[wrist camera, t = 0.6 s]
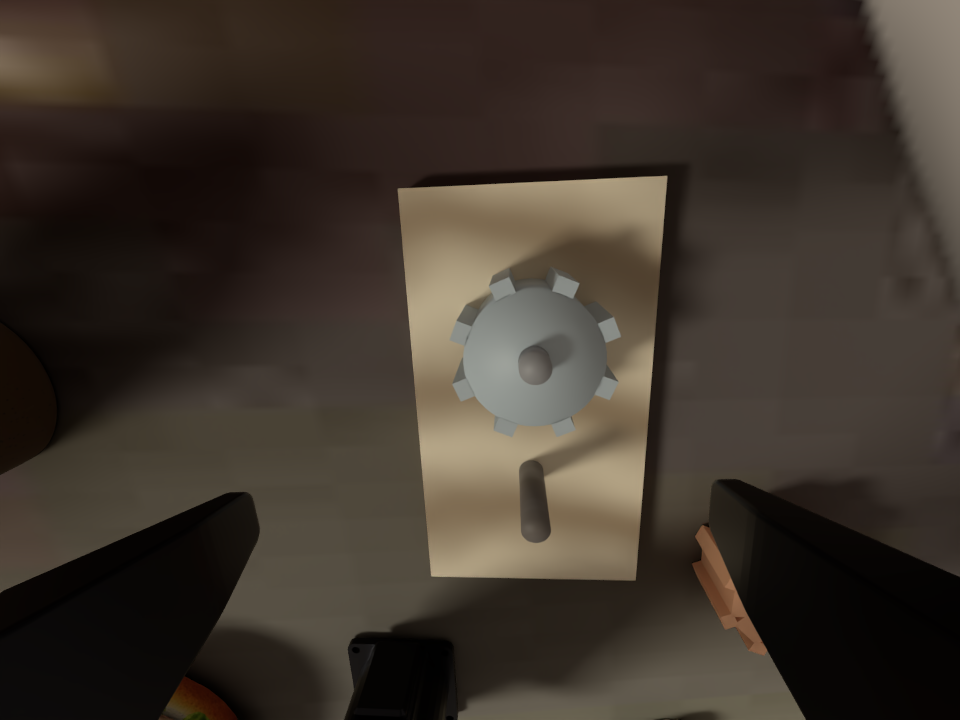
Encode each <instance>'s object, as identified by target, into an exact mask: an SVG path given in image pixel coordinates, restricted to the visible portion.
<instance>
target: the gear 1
mask: <svg viewBox="0 0 960 720" xmlns="http://www.w3.org/2000/svg"><path fill="white" fill-rule="evenodd" d="M579 284H580V283H579V282H578V281H576V280H575V279H574V278H573V277H572V276H571V275H569V274H568V273H566V272H563V271H561V270H558V269H556V268H553V267H550V269H549V271H548V274H547V276H546V279H545V280H543V279H534V278H528V279H520V280H516V281H515V279H514V277H513V275H512V272H511V270H510V268H508V269H506V270H504V271H502V272H499V273H497V274H495V275H493V276H492V279H491V282H490V284H489V288H490V290H491V292H492V293H491V294H490V295H489V296H488V297H487V298H486V299H485V301H484V302H483V303H482V304H481V306H480V308H479V309H476V308H473V307H471V306H468V305H465V307H464V308H463V310H462V312H461V314H460V315H459V317H458V319H457V321H456V323H455V326H454V329H453V332H452V334H451V337H450V341H453V342H455V343H458V344H461V345H463V346H464V352H463V358H462V359H461V362H460V364H459V367H458V370H457V372H456V375H455V378H454V380H453V383H452V385H453V387H454V389H455V391H456V393H457V395H458V397H459V399H460V401H464V400H466V399H469V398H471V397H474V396H475V397H476V398H477V400H478V401H479V402H480V403H481V404H482V405H483V406H484V407H485V408H486V409H487V410H488V411H490V412H491V413H492V414H494V415H495V420H494V431H496V432H499V433H502V434H504V435H507V436H510V437H513V434H514V432H515V430H516V428H517V425H523V426H545V425H550V424H551V425H552V428H553V430H554V432H555V434H556V437H559V436H561V435H564V434H567V433H569V432H572V431H575V430H576V429H575V426H574V423H573V420H572V416H573V415H574V414H576V413H577V412H579V411H580V410H581V409H583V408H584V407H585V406H586V405H587V404H588V403H589V402H590V401H591V399H592V398H593V397H594V395H597V396H600V397H602V398H605V399H608V400H610V399H611V397H612V395H613V393H614V391H615V389H616V387H617V385H618V383H619V382H618V380H617V379H616V377H615V376H614V374H613V373H612V371H611V370H610V368H609V367H608V366H607V349H606V343H607V342H609V341H612V340H614V339H617V338H619V337H621V335H620V332H619V329H618V327H617V324H616V321H615V319H614V317H613V316H612V315H611V314H610V313H609V312H608V311H607V310H605V309H604V308H603V307H602V306H601V305H600V304H599V303H598V302H596V301H595V302H593V303H591V304H588V305H586V306H583V305H582V304H581V303H580V301H579V300H578V299H577V298H576V297H575V296H574V295H575V293H576V291H577V288H578V286H579Z"/></svg>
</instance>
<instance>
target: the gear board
mask: <svg viewBox="0 0 960 720" xmlns="http://www.w3.org/2000/svg"><path fill="white" fill-rule="evenodd" d="M666 187H667V176H653V177H632V178H611V179H590V180H569V181H548V182H527V183H506V184H485V185H464V186H443V187H422V188H401V189H398V197H399V209H400V220H401V232H402V243H403V255H404V266H405V278H406V289H407V301H408V313H409V324H410V336H411V347H412V359H413V370H414V382H415V393H416V405H417V416H418V428H419V439H420V451H421V462H422V474H423V485H424V497H425V509H426V520H427V532H428V543H429V555H430V566H431V576H435V577H484V578H533V579H582V580H631V581H636V570H637V557H638V544H639V532H640V519H641V506H642V493H643V481H644V468H645V455H646V442H647V430H648V417H649V404H650V391H651V379H652V366H653V353H654V340H655V328H656V315H657V302H658V289H659V276H660V264H661V251H662V238H663V225H664V213H665V200H666ZM550 267H553V268H556V269H558V270H561V271H563V272H566V273H568V274H569V275H571V276H572V277H573V278H574V279H575V280H576V281H578V282H579V283H580V284H579V286H578V288H577V291H576V293H575V295H574V296H575V297H576V298H577V299H578V300H579V301H580V303H581V304H582V305H583V306H586V305H588V304H591V303H593V302H595V301H596V302H598V303H599V304H600V305H601V306H602V307H603V308H604V309H605V310H607V311H608V312H609V313H610V314H611V315H612V316H613V317H614V319H615V321H616V324H617V327H618V329H619V332H620V335H621V337H619V338H617V339H614V340H612V341H609V342H607V343H606V349H607V366H608V367H609V368H610V370H611V371H612V373H613V374H614V376H615V377H616V379H617V380H618V382H619V383H618V385H617V387H616V389H615V391H614V393H613V395H612V397H611V399H610V400H608V399H605V398H602V397H600V396H597V395H594V397H593V398H592V399H591V401H590V402H589V403H588V404H587V405H586V406H585V407H584V408H583V409H581V410H580V411H579V412H577V413H576V414H574V415H573V416H572V420H573V423H574V426H575V429H576V430H575V431H572V432H569V433H567V434H564V435H561V436H559V437H556V434H555V432H554V430H553V428H552V425H551V424H550V425H545V426H523V425H517V428H516V430H515V432H514V434H513V437H510V436H507V435H504V434H502V433H499V432H496V431H494V420H495V415H494V414H492V413H491V412H490V411H488V410H487V409H486V408H485V407H484V406H483V405H482V404H481V403H480V402H479V401H478V400H477V398H476V397H475V396H474V397H471V398H469V399H466V400H464V401H460V399H459V397H458V395H457V393H456V391H455V389H454V387H453V385H452V383H453V380H454V378H455V375H456V372H457V370H458V367H459V364H460V362H461V359H462V358H463V352H464V346H463V345H461V344H458V343H455V342H453V341H450V337H451V334H452V332H453V329H454V326H455V323H456V321H457V319H458V317H459V315H460V314H461V312H462V310H463V308H464V307H465V305H468V306H471V307H473V308H476V309H479V308H480V306H481V304H482V303H483V302H484V301H485V299H486V298H487V297H488V296H489V295H490V294H491V293H492V292H491V290H490V288H489V284H490V282H491V279H492V276H493V275H495V274H497V273H499V272H502V271H504V270H506V269H508V268H510V270H511V272H512V275H513V277H514V279H515V281H516V280H520V279H528V278H534V279H543V280H545V279H546V276H547V274H548V271H549V269H550Z"/></svg>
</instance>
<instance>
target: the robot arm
mask: <svg viewBox="0 0 960 720" xmlns="http://www.w3.org/2000/svg"><path fill="white" fill-rule="evenodd" d="M709 527H710V530H711V533H712V535H713V538H714V540H715V542H716V545H717V547H718V549H719V552H720V554H721V556H722V559H723V561H724V563H725V566H726V568H727V570H728V573H729V575H730V577H731V580H732V582H733V584H734V587H735V589H736V591H737V593H738V596H739V598H740V600H741V602H742V605H743V607H744V609H745V611H746V613H747V615H748V617H749V618H750V620H751V622H752V624H753V626H754V628H755V629H756V631H757V633H758V635H759V637H760V638H761V640H762V642H763V644H764V646H765V647H766V649H767V651H768V653H769V655H770V656H771V658H772V660H773V662H774V663H775V665H776V667H777V669H778V671H779V672H780V674H781V676H782V678H783V680H784V681H785V683H786V685H787V687H788V688H789V690H790V692H791V694H792V696H793V697H794V699H795V701H796V703H797V705H798V706H799V708H800V710H801V712H802V714H803V715H804V717H805V719H806V720H960V577H958V576H956V575H954V574H952V573H949V572H947V571H945V570H943V569H940V568H938V567H936V566H933V565H931V564H929V563H927V562H924V561H922V560H920V559H918V558H915V557H913V556H911V555H908V554H906V553H904V552H902V551H899V550H897V549H895V548H893V547H890V546H888V545H886V544H884V543H881V542H879V541H877V540H874V539H872V538H870V537H868V536H865V535H863V534H861V533H859V532H856V531H854V530H852V529H849V528H847V527H845V526H843V525H840V524H838V523H836V522H834V521H831V520H829V519H827V518H824V517H822V516H820V515H818V514H815V513H813V512H811V511H809V510H806V509H804V508H802V507H800V506H797V505H795V504H793V503H790V502H788V501H786V500H784V499H781V498H779V497H777V496H775V495H772V494H770V493H768V492H765V491H763V490H761V489H759V488H756V487H754V486H752V485H750V484H747V483H745V482H743V481H740V480H737V479H720V480H715V481H714V482H713V484H712V486H711V495H710V507H709ZM259 533H260V527H259V522H258V518H257V514H256V510H255V505H254V501H253V498H252V496H251V495H250V494H249V493H247V492H230V493H226V494H224V495H221V496H219V497H217V498H214V499H212V500H210V501H208V502H205V503H203V504H201V505H198V506H196V507H194V508H191V509H189V510H187V511H185V512H182V513H180V514H178V515H175V516H173V517H171V518H169V519H166V520H164V521H162V522H159V523H157V524H155V525H153V526H150V527H148V528H146V529H143V530H141V531H139V532H137V533H134V534H132V535H130V536H127V537H125V538H123V539H121V540H118V541H116V542H114V543H111V544H109V545H107V546H105V547H102V548H100V549H98V550H95V551H93V552H91V553H89V554H86V555H84V556H82V557H79V558H77V559H75V560H73V561H70V562H68V563H66V564H63V565H61V566H59V567H57V568H54V569H52V570H50V571H47V572H45V573H43V574H41V575H38V576H36V577H34V578H31V579H29V580H27V581H25V582H22V583H20V584H18V585H15V586H13V587H11V588H9V589H6V590H4V591H2V592H1V593H0V720H159V718H160V716H161V715H162V713H163V711H164V710H165V708H166V706H167V705H168V703H169V701H170V700H171V698H172V696H173V695H174V693H175V691H176V690H177V688H178V686H179V685H180V683H181V681H182V680H183V678H184V676H185V675H186V673H187V671H188V670H189V668H190V666H191V665H192V663H193V661H194V660H195V658H196V656H197V655H198V653H199V651H200V650H201V648H202V646H203V645H204V643H205V641H206V640H207V638H208V636H209V635H210V633H211V631H212V630H213V628H214V626H215V625H216V623H217V621H218V619H219V618H220V616H221V614H222V612H223V610H224V608H225V606H226V604H227V603H228V601H229V599H230V597H231V595H232V592H233V590H234V588H235V586H236V584H237V582H238V580H239V578H240V576H241V574H242V572H243V570H244V568H245V566H246V564H247V561H248V559H249V557H250V555H251V553H252V551H253V549H254V547H255V545H256V543H257V541H258V538H259ZM348 654H349V660H350V666H351V672H352V678H353V684H354V692H353V695H352V698H351V701H350V704H349V707H348V710H347V713H346V716H345V719H344V720H457V719H458V702H457V688H456V675H455V661H454V647H453V645H452V644H451V643H450V642H448V641H436V640H405V639H373V638H354V639H352V640H351V641H350V644H349V646H348Z"/></svg>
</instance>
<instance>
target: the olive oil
mask: <svg viewBox="0 0 960 720" xmlns="http://www.w3.org/2000/svg"><path fill="white" fill-rule="evenodd" d="M56 421H57V403H56V397H55V393H54V389H53V386H52V384H51V381H50V379H49V377H48V374H47V372H46V371H45V369H44V367H43V365H42V364H41V362H40V361H39V359H38V358H37V356H36V355H35V354H34V353H33V351H32V350H31V349H30V348H29V347H28V346H27V344H26V343H25V342H24V341H23V340H22V339H21V338H19V337H18V336H17V335H16V334H15V333H14V332H13V331H11V330H10V329H9V328H7V327H6V326H5V325H3V324H2V323H0V475H1V474H3V473H5V472H7V471H9V470H11V469H13V468H15V467H17V466H18V465H20V464H22V463H24V462H26V461H28V460H29V459H31V458H33V457H34V456H36V455H37V454H38V453H40V452H41V451H42V450H43V449H44V448H45V447H46V446H47V444H48V443H49V441H50V440H51V438H52V435H53V433H54V430H55V426H56Z"/></svg>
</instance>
